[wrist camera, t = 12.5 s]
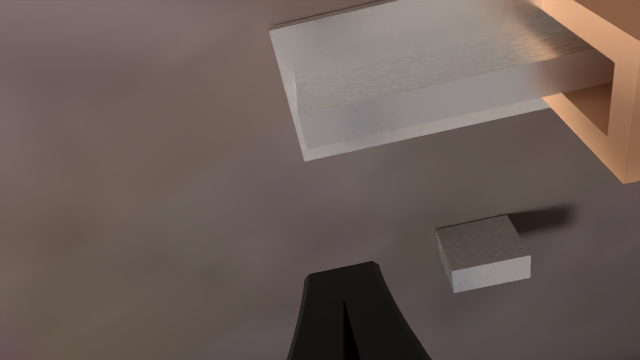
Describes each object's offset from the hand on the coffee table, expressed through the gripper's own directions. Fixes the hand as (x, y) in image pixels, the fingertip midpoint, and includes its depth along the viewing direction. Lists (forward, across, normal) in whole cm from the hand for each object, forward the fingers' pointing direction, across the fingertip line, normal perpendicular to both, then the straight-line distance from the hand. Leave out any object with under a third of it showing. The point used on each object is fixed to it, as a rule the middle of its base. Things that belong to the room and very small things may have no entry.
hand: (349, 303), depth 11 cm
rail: (+10, -8, 0) cm, 13 cm away
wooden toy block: (+10, -5, +8) cm, 14 cm away
